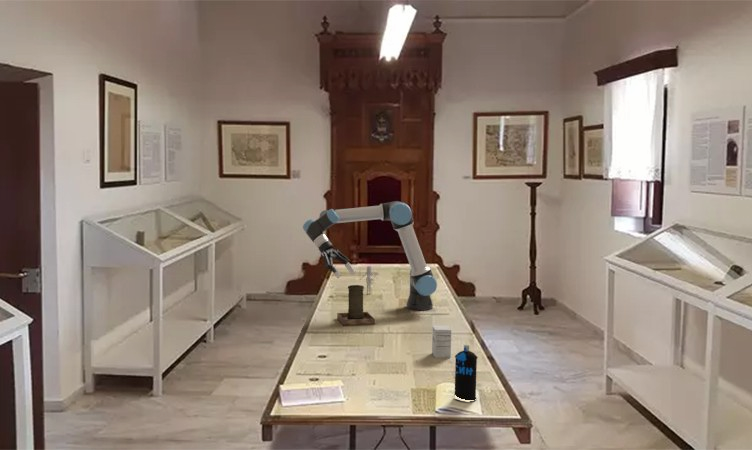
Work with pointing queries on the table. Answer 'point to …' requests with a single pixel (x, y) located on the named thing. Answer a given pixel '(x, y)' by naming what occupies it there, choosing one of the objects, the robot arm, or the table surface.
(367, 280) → the human figurine
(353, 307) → the container
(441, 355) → the supplement box
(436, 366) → the table surface
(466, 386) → the aerosol can
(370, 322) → the walnut tray
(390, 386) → the table surface
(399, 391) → the table surface
